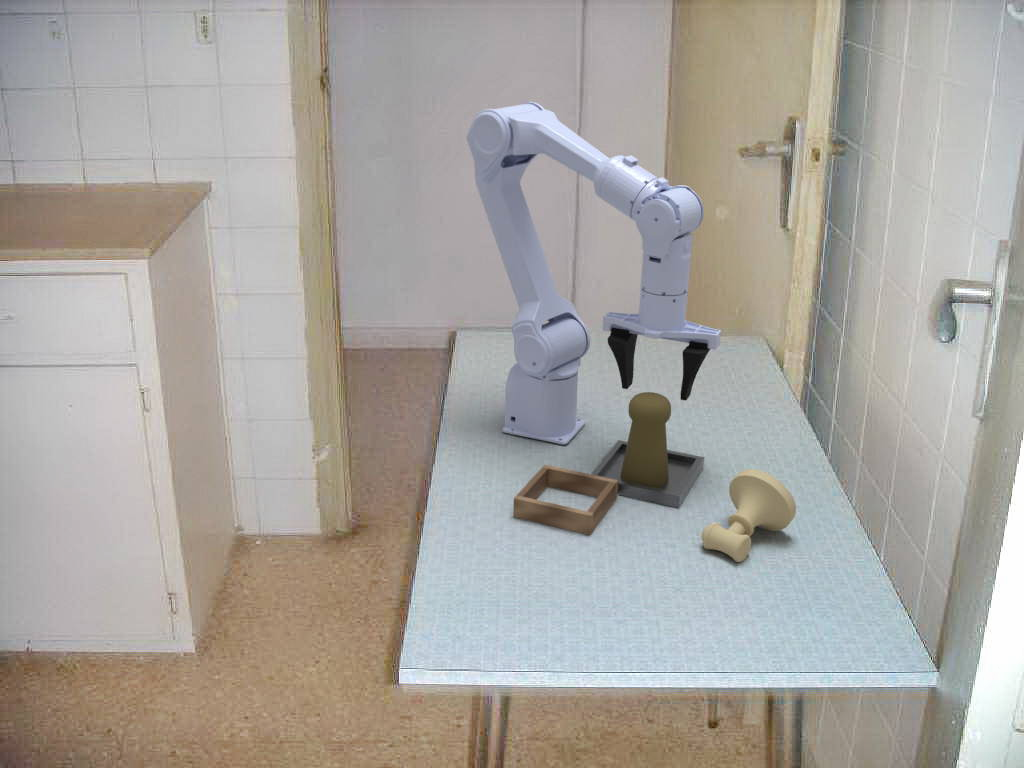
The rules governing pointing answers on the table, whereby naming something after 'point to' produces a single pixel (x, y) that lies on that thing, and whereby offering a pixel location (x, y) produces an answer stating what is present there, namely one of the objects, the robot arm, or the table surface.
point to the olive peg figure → (647, 441)
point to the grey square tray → (671, 494)
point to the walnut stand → (563, 515)
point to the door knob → (751, 513)
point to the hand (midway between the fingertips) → (655, 391)
